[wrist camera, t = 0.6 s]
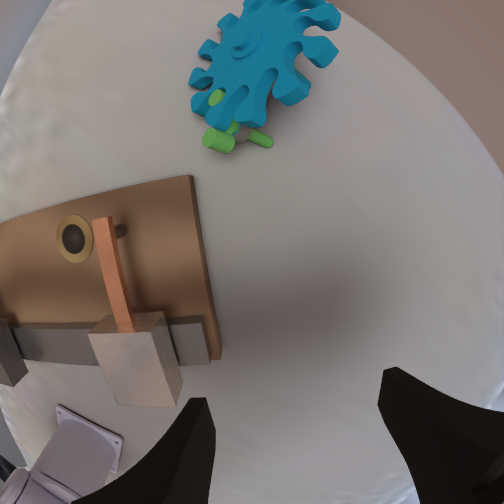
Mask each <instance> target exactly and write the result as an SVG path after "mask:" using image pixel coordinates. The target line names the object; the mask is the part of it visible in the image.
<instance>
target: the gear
mask: <svg viewBox="0 0 504 504" xmlns="http://www.w3.org/2000/svg"><path fill="white" fill-rule="evenodd" d="M243 5H244V10H243V13H242V15H241V17H240V19H239V18H237V17H236V16H234V15H233V14H231V13H229V14H227V15H226V16H224V17H223V18H222V19H221V20H220V21H219V22H218V24H217V27H218V28H220V29H221V30H222V40H221V43H220V44H217V43H215V42H214V41H212V40H210V39H208V40H206V41H205V42H204V44H203V45H202V46H201V48H200V50H199V51H198V55H200V56H202V57H204V58H206V59H208V60H213V62H212V65H211V66H210V68H209V69H208V70H207V71H205V70H203V69H201V68H199V67H197V68H195V69H194V70H193V71H192V74H191V76H190V79H189V83H188V85H190V86H192V87H195V88H197V89H200V90H201V89H203V88H205V87H206V86H207V85H209V84H210V83H213V84H212V86H211V88H210V89H209V90H208V91H206V92H197V93H196V94H194V96H193V97H192V99H191V109H192V112H194V113H196V114H199V115H201V116H205V121H206V122H207V123H208V124H209V125H210V126H212V127H213V128H209V129H208V130H207V131H206V132H205V134H204V136H203V145H204V146H205V147H208V148H210V149H213V150H216V151H219V152H222V153H225V154H227V153H229V152H231V151H232V149H233V148H234V145H235V143H242V142H244V141H246V140H247V139H248V140H250V141H252V142H255V143H257V144H259V145H261V146H263V147H265V148H270V147H271V146H272V145H273V138H271V137H269V136H268V135H266V134H264V133H262V132H260V131H258V130H256V129H254V128H257V127H263V125H264V124H265V122H266V118H267V113H266V101H267V99H268V97H269V95H270V93H271V91H272V94H273V96H274V98H276V99H277V100H279V101H280V102H282V103H283V104H284V105H286V106H291V105H294V104H296V103H298V102H300V101H301V100H303V99H304V98H306V97H307V96H308V94H309V89H310V88H311V83H310V82H309V81H308V80H307V79H306V78H305V77H304V76H303V75H301V74H300V73H299V72H298V71H297V70H295V69H294V59H295V57H296V55H297V54H299V53H300V52H302V51H303V53H304V55H305V56H306V57H307V58H308V59H309V60H310V61H311V62H312V63H313V64H314V65H315V66H316V67H318V68H325V67H326V66H328V65H329V64H330V63H331V62H332V60H333V59H334V58H335V57H336V55H337V54H338V52H339V51H338V49H337V48H336V47H335V46H334V45H333V43H332V42H331V41H330V40H329V39H328V38H327V37H324V36H316V37H309V36H304V35H302V34H303V32H304V30H305V29H307V28H308V27H310V26H318V27H320V28H321V29H323V30H325V31H333V30H336V29H338V27H339V25H340V20H341V14H340V13H339V11H338V10H337V9H336V8H335V7H334V5H333V4H331V3H326V2H325V0H245V1H244V3H243ZM304 9H310V10H307V11H303V12H300V11H301V10H304ZM215 128H216V129H215ZM217 129H218V130H217ZM220 130H221V131H220Z"/></svg>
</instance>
